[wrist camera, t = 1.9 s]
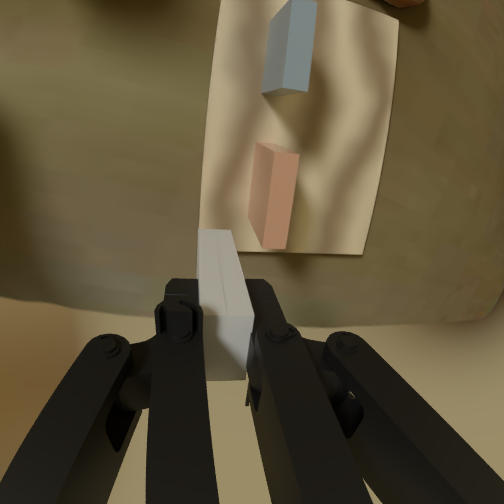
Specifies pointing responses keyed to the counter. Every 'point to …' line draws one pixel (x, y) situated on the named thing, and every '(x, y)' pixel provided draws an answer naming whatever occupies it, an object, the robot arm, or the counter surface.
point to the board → (301, 124)
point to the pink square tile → (272, 193)
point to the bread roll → (404, 2)
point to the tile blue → (290, 49)
